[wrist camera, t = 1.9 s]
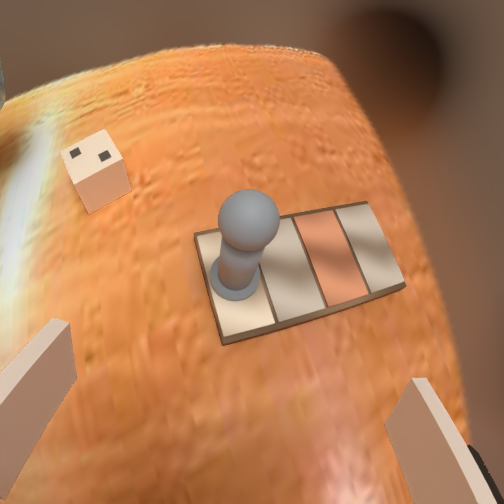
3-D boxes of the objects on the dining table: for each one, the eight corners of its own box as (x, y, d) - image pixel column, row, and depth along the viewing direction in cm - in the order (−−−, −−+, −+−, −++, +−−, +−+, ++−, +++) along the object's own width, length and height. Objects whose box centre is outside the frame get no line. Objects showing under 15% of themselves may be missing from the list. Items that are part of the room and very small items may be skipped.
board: (194, 239, 35) (193, 231, 34) (362, 206, 40) (367, 199, 39) (222, 345, 31) (223, 343, 29) (400, 290, 36) (407, 285, 34)
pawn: (204, 261, 32) (207, 179, 20) (250, 251, 33) (276, 169, 22) (217, 306, 30) (225, 244, 19) (264, 294, 32) (301, 228, 20)
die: (74, 182, 36) (59, 151, 31) (113, 160, 38) (104, 127, 33) (89, 214, 34) (73, 184, 29) (131, 190, 37) (122, 157, 31)
